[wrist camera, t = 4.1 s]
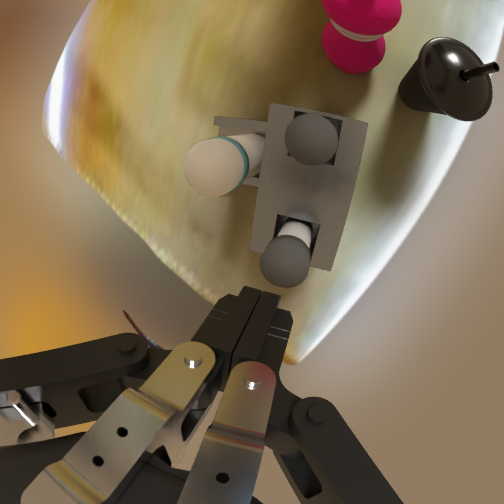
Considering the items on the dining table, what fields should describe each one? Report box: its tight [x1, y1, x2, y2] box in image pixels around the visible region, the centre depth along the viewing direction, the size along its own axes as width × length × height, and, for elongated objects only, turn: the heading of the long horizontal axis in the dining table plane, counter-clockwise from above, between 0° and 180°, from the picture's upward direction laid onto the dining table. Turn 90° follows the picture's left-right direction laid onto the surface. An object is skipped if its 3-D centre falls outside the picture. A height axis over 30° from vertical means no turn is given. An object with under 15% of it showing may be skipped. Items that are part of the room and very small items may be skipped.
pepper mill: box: [321, 0, 402, 74], centre depth 16 cm, size 7×7×20 cm
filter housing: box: [214, 103, 368, 271], centre depth 27 cm, size 12×17×16 cm
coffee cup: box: [184, 133, 265, 197], centre depth 28 cm, size 5×5×14 cm
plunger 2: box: [260, 217, 313, 288], centre depth 20 cm, size 3×3×6 cm
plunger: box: [285, 114, 338, 166], centre depth 17 cm, size 3×3×6 cm
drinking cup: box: [399, 37, 499, 121], centre depth 16 cm, size 8×8×20 cm
